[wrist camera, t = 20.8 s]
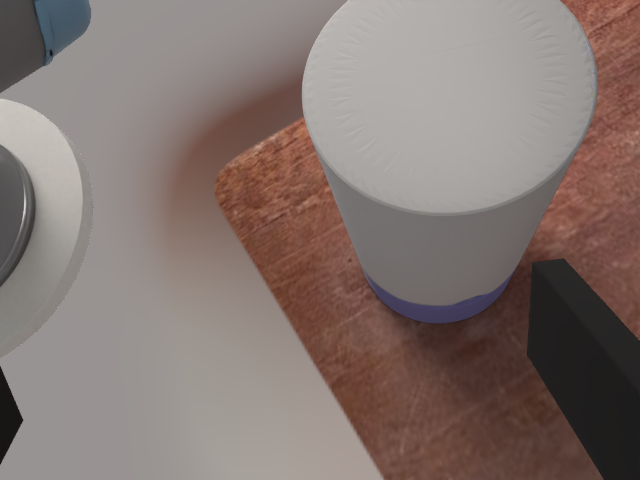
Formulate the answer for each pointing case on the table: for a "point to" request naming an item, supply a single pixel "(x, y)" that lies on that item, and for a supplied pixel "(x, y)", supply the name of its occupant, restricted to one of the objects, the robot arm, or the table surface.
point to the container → (446, 138)
